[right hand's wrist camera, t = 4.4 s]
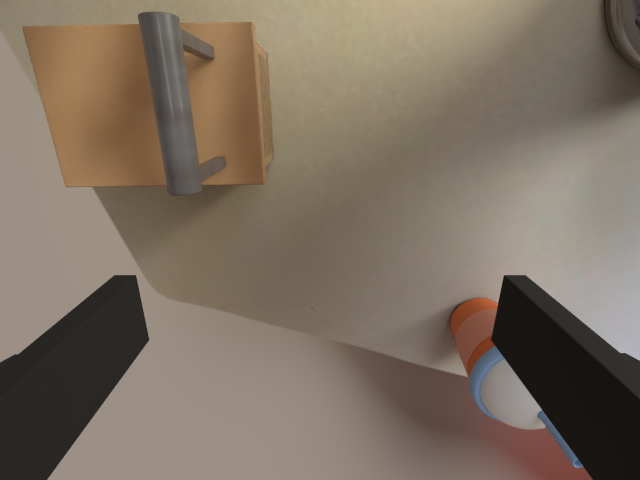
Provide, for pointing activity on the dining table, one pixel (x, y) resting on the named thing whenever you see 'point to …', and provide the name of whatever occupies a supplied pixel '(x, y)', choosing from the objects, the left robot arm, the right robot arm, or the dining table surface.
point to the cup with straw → (496, 373)
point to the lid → (152, 102)
